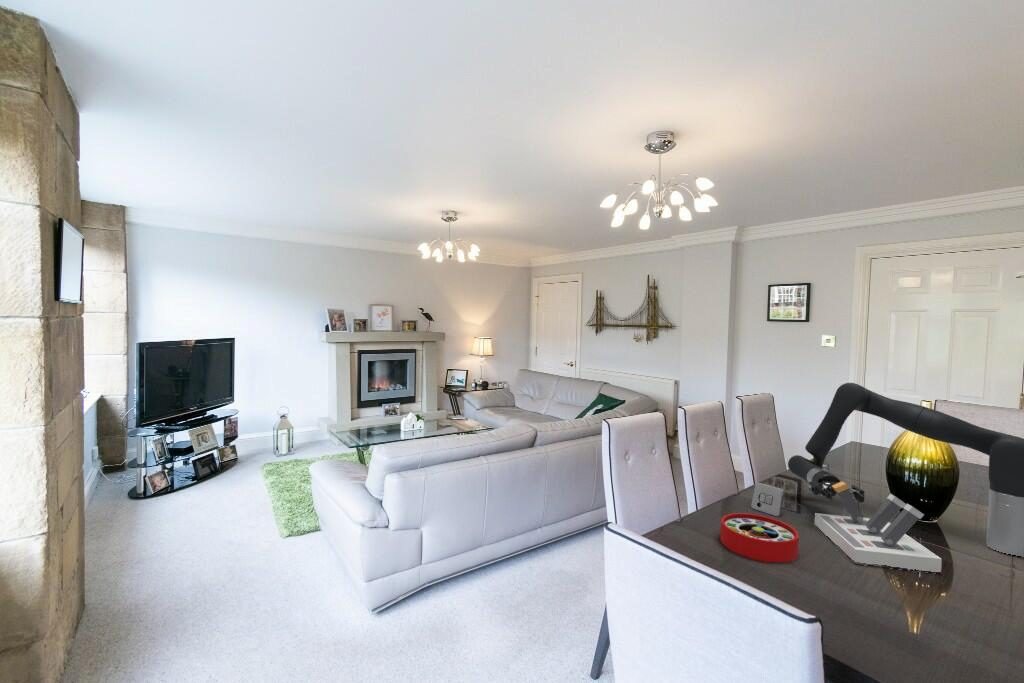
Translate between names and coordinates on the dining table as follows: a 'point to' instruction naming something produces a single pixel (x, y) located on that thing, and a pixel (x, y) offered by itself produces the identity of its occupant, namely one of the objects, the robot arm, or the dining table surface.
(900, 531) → the lever
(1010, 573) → the dining table surface
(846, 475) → the dining table surface
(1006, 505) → the robot arm
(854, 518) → the lever
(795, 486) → the dining table surface
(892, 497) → the breaker mid
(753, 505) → the electrical switch
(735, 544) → the toy clock
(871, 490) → the dining table surface
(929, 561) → the panel
